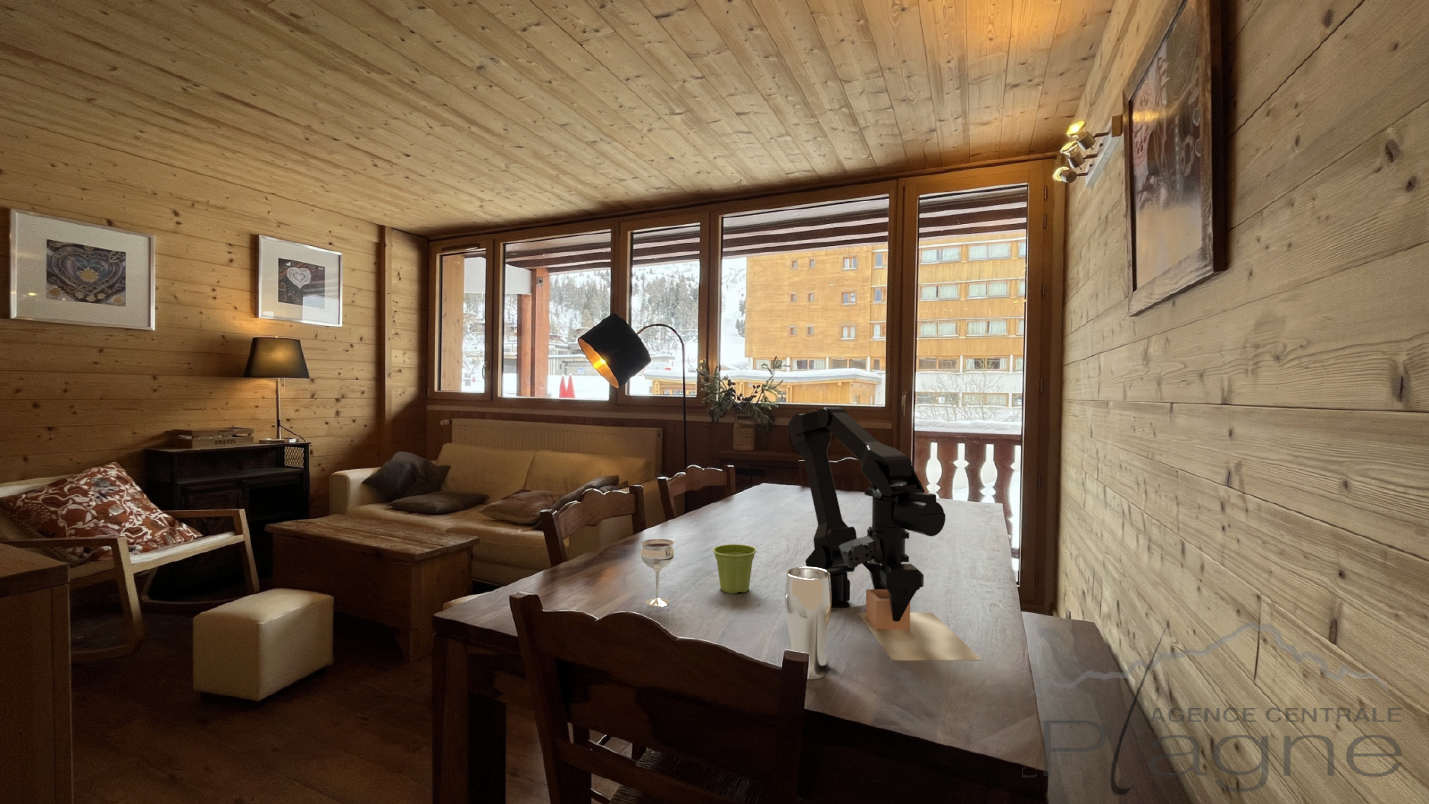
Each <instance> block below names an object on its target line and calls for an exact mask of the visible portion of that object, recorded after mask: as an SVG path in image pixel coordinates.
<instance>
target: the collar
mask: <svg viewBox="0 0 1429 804" xmlns="http://www.w3.org/2000/svg"><path fill="white" fill-rule="evenodd" d="M879 598H889V592H888V590H887V589H874V588H873V589H872V588H871V589H870V588H869V589H866V590H865V613H866V617H867V619H868V620H869V621H870V623H871V624H872V625H873V627H874V628H875V629H910V613H911V602H910V603H909V604H908V606H907V608H906V610H905V612H904V614H903V616H902V617H901V619H900V621H897V622H895V621H893V619H892V614H891V607H890V599H879Z"/></svg>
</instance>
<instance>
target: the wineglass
mask: <svg viewBox="0 0 1429 804" xmlns="http://www.w3.org/2000/svg"><path fill="white" fill-rule="evenodd" d="M674 544H675V541H673V540H671V539H665V538H651V539H646V540H643V541H641V543H640V546H641V547H642V548H641V550H640V558H641V561H642V562H643V563H644V564H645V565H646V566H647V567H648V568H651V569H652V570H653V572H655V590H656V591H655V592H656V593H655V595H656V596H655V597H652V598H650V599H647V600H645V602H644V604H645V605H646V606H648V607H649V606H650V607H655V608H657V607H658V608H659V607H664V606H668V605H669V604H670V600H669V599H667V598H663V597H659V592H660V591H659V588H660V586H659V585H660V572H661V571H662V569H664V568H666V567H668V566H669V565H670V564H671V563H672V562H673V560H674V558H675V549H674V548H673V546H674Z"/></svg>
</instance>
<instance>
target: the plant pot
mask: <svg viewBox="0 0 1429 804" xmlns="http://www.w3.org/2000/svg"><path fill="white" fill-rule="evenodd" d="M712 552H713V553H714V557H715V560H716V565H717V571H718V580H719V587H720V589H721V590H722V592H724V593H726V594H727V593H728V594H737V593H739V592H740V593H745V592H747V591H749V589H750V582H751V574H752V567H753V561H754V559H755V554H756V553H757V548H756V547H754V546H751V545H746V544H739V543H738V544H736V543H735V544H733V543H730V544H722V545H718V546H714V547H713V548H712Z"/></svg>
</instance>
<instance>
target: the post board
mask: <svg viewBox="0 0 1429 804" xmlns="http://www.w3.org/2000/svg"><path fill="white" fill-rule="evenodd" d="M879 599H889V598H879ZM858 615H859V617H860V618H861V620H863V622H864V623H865V625H866V627H867V628H868V629H869V631H870V632H871V633H872V635H873V636H874V638H876V640H877V642H878V643H879V644H880V646H881V647H882V649H883V650H884V652H885V653H886V654H887V656H888V658H890V661H892V662H893V661H896V662H897V661H899V662H900V661H901V662H902V661H905V662H907V661H910V662H911V661H983V659H982V658H981V657H980V656H979V655H978V654H977V653H976V652H975V651H973V649H971V647H969V645H967V644H966V643H965V642H964V641H963V640H962V639H961V638H960V637H959V636H958V635H956V633H954V631H952V630H951V629H950V628H949V627H948V626H947V625H946V624H945V623H944V622H943V621H942V620H941V619H940V618H939V617H938V616H936V615H935V613H933V612H931V611H930V612H928V611H927V612H910V629H875V628H874V627H873V625H872V624H871V623H870V621H869V620H868V619H867V617H866V612H858Z"/></svg>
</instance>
